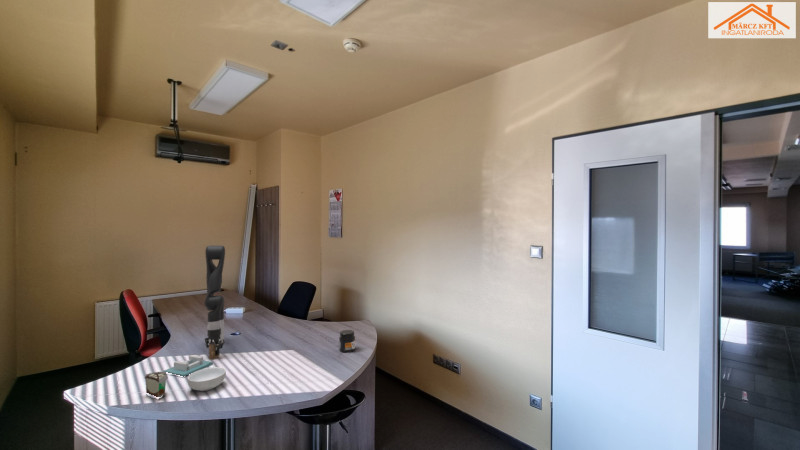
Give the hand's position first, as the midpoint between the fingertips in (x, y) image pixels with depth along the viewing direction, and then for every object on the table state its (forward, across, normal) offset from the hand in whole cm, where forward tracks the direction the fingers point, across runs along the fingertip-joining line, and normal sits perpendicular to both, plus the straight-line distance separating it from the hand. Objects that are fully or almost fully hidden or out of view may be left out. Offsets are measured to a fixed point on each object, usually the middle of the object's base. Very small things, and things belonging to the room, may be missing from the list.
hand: (214, 354), depth 202 cm
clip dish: (+2, 0, -17) cm, 17 cm away
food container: (+2, +14, -43) cm, 45 cm away
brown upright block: (+2, 0, 0) cm, 2 cm away
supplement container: (+2, +74, +37) cm, 83 cm away
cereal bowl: (+2, +30, -30) cm, 42 cm away
